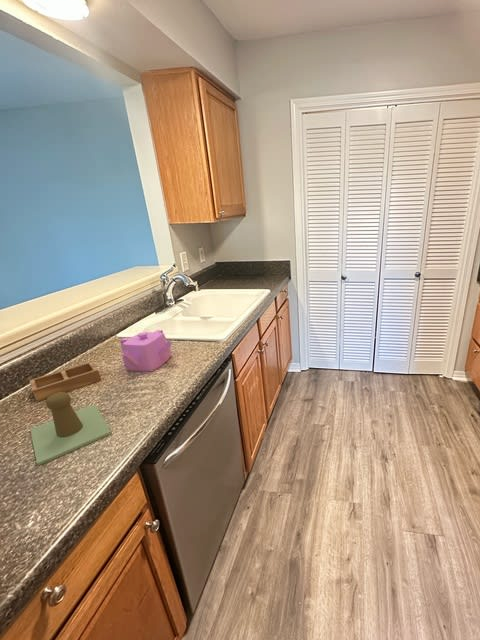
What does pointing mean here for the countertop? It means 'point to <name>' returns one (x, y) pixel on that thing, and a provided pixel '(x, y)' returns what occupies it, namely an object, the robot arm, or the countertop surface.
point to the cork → (63, 414)
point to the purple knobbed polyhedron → (145, 351)
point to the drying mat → (54, 446)
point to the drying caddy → (64, 380)
